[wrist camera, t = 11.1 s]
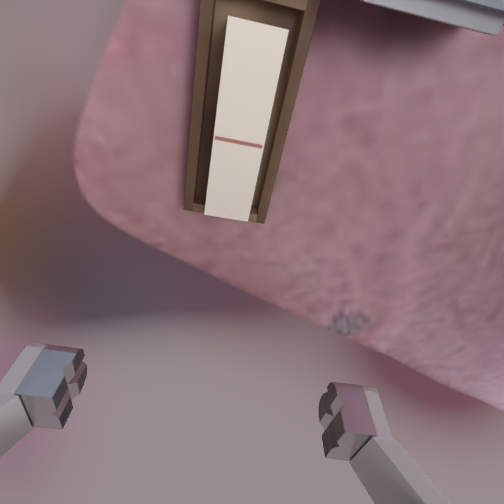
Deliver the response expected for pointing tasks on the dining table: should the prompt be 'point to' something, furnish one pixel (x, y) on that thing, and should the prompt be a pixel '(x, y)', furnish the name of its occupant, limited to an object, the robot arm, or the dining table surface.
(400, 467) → the robot arm
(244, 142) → the white slab
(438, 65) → the dining table surface
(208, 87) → the tray
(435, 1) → the block
